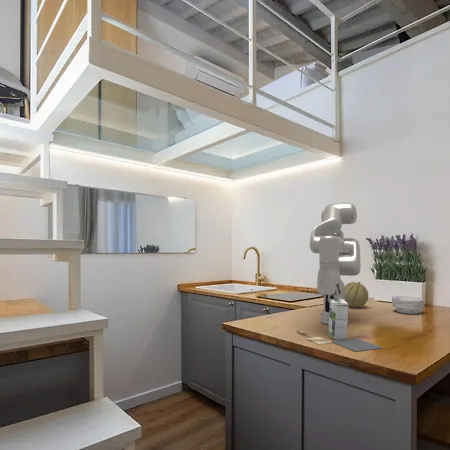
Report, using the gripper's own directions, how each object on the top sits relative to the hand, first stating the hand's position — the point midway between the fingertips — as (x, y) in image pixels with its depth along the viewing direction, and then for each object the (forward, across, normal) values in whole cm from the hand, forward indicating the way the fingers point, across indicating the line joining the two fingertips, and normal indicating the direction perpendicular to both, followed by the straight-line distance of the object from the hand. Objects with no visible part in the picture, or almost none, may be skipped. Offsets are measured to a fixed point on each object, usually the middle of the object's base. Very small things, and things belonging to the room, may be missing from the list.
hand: (329, 311), depth 138 cm
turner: (+9, 0, -9) cm, 13 cm away
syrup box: (+9, +4, 0) cm, 10 cm away
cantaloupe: (+9, -46, +53) cm, 71 cm away
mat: (+10, +14, 0) cm, 17 cm away
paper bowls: (+9, -24, +69) cm, 74 cm away
